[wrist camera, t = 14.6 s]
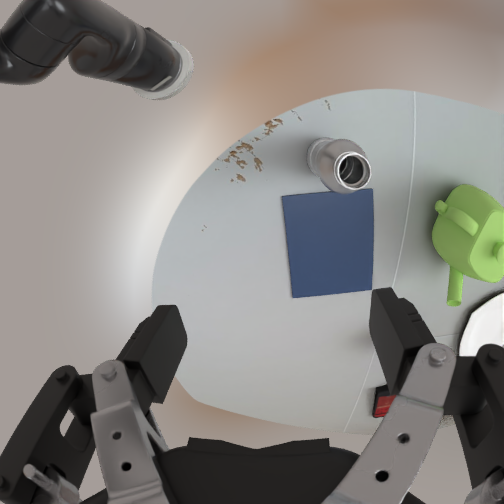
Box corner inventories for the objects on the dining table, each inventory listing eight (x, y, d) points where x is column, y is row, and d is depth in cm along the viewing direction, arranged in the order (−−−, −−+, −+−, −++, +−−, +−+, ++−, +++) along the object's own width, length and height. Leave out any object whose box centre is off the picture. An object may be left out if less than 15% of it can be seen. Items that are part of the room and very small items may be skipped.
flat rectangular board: (282, 196, 47) (282, 196, 47) (372, 188, 45) (372, 188, 44) (292, 297, 54) (292, 298, 54) (371, 289, 52) (371, 289, 52)
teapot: (390, 258, 49) (423, 303, 35) (441, 161, 41) (493, 175, 26) (462, 299, 51) (495, 339, 36) (506, 221, 42) (550, 248, 28)
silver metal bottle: (339, 135, 42) (379, 134, 23) (346, 174, 44) (387, 200, 26) (301, 140, 43) (317, 141, 25) (309, 179, 45) (328, 209, 27)
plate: (506, 341, 55) (509, 344, 53) (451, 367, 59) (453, 372, 58) (521, 278, 47) (525, 282, 45) (463, 304, 51) (466, 309, 50)
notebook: (377, 393, 61) (445, 373, 57) (375, 386, 63) (442, 367, 60) (372, 421, 67) (432, 403, 64) (371, 415, 70) (430, 398, 66)
